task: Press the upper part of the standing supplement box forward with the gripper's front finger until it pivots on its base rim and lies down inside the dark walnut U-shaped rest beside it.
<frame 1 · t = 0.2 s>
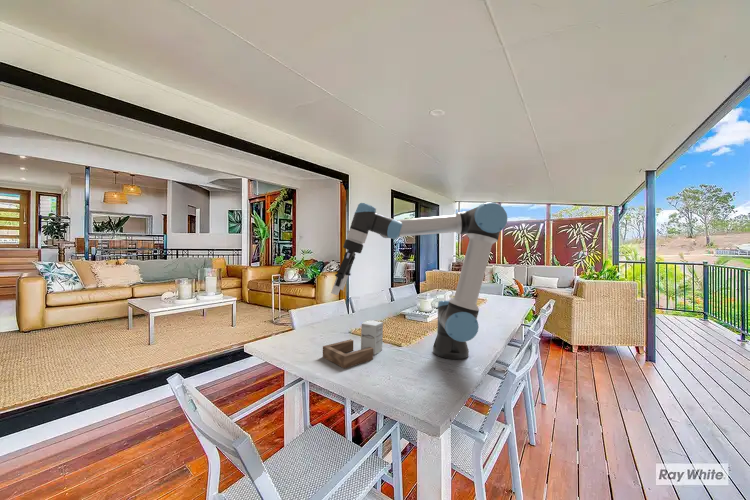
hand: (337, 291, 116), 28 cm above the table, tool tilted 20°, fingers open, 13 cm apart
supplement box: (371, 351, 128), on the table
u rest: (349, 357, 119), on the table
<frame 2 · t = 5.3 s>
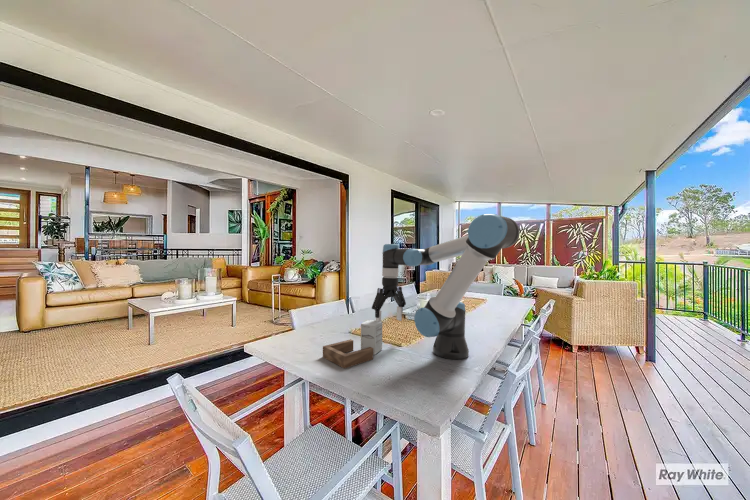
hand: (389, 322, 136), 11 cm above the table, tool pointing down, fingers open, 13 cm apart
supplement box: (371, 351, 128), on the table, touching gripper
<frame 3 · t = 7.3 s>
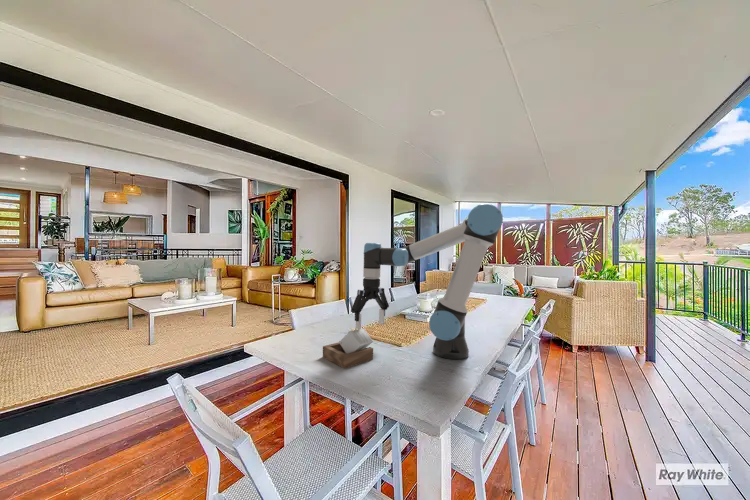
hand: (370, 326, 128), 11 cm above the table, tool pointing down, fingers open, 13 cm apart
supplement box: (363, 339, 127), point 5 cm above the table, touching gripper, u rest
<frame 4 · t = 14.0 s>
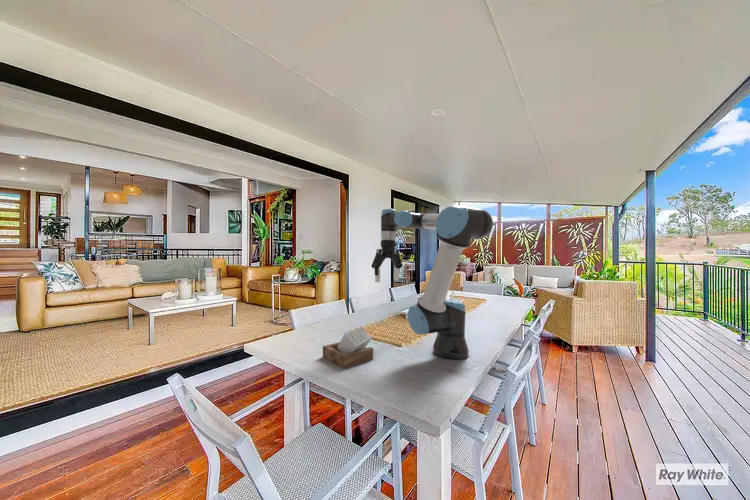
hand: (387, 281, 148), 29 cm above the table, tool pointing down, fingers open, 13 cm apart
supplement box: (363, 337, 127), point 6 cm above the table, touching u rest
at the end: supplement box tilted 92°; supplement box inside the target area on the u rest (4.4 cm from its centre), point 6.1 cm above the u rest's base; the gripper is holding nothing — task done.
